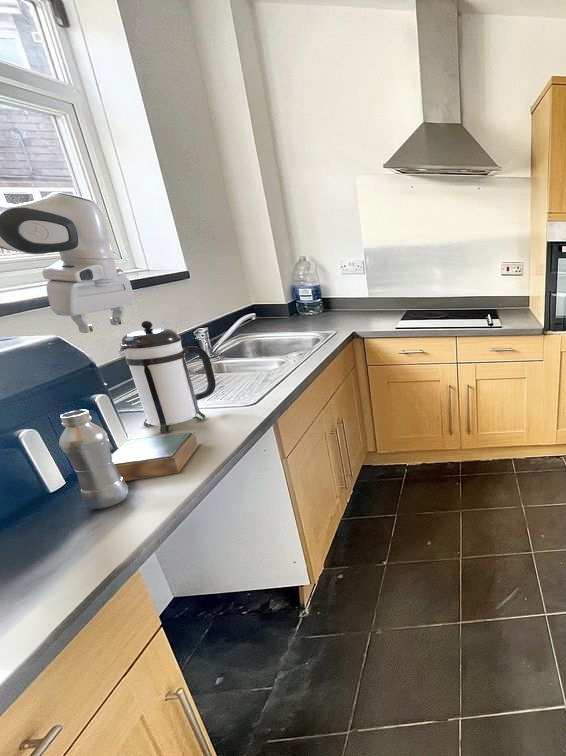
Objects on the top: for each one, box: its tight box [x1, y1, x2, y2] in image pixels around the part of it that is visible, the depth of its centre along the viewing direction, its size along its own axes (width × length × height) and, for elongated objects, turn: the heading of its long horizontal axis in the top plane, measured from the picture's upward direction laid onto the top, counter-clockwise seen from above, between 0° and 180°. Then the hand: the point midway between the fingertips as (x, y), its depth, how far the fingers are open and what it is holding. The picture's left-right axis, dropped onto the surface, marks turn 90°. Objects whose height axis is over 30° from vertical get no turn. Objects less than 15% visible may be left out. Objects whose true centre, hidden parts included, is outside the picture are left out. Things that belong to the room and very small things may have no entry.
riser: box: [111, 431, 199, 482], centre depth 98 cm, size 14×14×4 cm
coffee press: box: [117, 320, 217, 434], centre depth 117 cm, size 17×16×30 cm
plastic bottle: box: [58, 409, 129, 510], centre depth 81 cm, size 6×7×20 cm
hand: (102, 328), depth 101 cm, fingers open, 8 cm apart
